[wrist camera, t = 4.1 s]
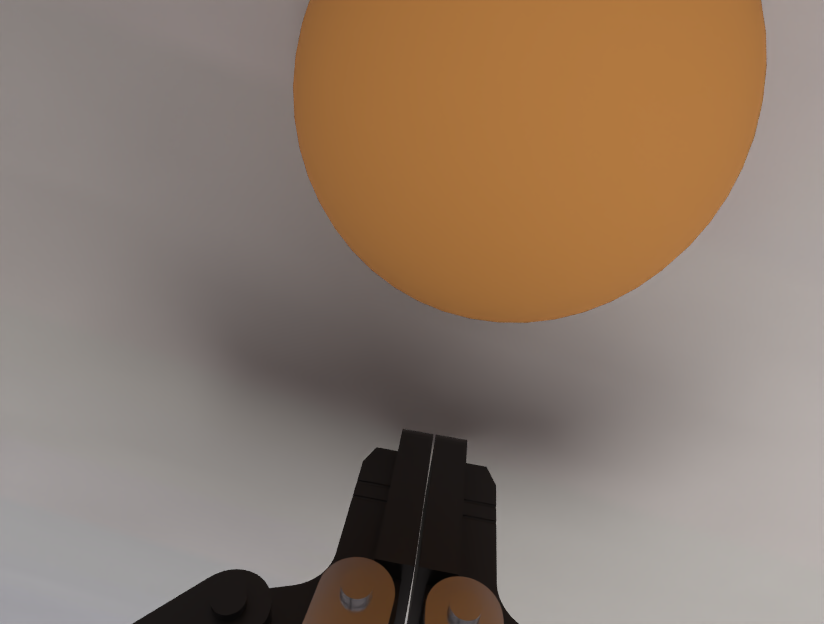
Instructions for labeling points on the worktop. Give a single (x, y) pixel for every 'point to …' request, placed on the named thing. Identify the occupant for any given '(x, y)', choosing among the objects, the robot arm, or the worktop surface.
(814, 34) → the worktop surface
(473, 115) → the ball
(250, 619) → the robot arm
